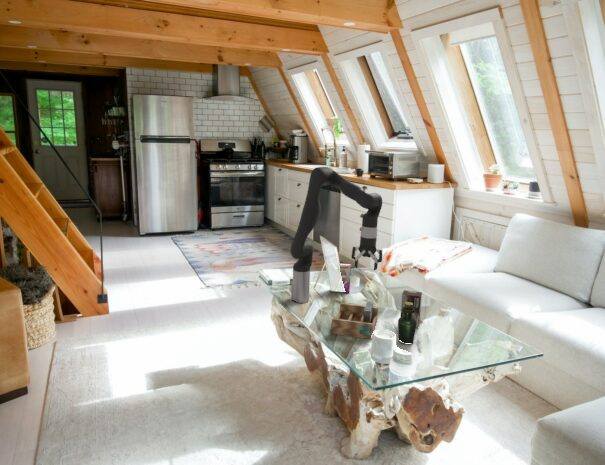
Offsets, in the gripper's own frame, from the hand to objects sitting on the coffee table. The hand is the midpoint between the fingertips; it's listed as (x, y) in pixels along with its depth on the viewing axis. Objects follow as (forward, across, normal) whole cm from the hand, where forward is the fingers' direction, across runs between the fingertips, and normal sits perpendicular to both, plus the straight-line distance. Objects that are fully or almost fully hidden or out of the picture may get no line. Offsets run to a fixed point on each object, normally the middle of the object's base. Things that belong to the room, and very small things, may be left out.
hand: (365, 268), depth 229 cm
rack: (+27, -2, -6) cm, 28 cm away
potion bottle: (+27, +22, -15) cm, 38 cm away
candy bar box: (+29, -18, +43) cm, 55 cm away
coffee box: (+27, +23, +6) cm, 36 cm away
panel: (+26, +4, -6) cm, 27 cm away
